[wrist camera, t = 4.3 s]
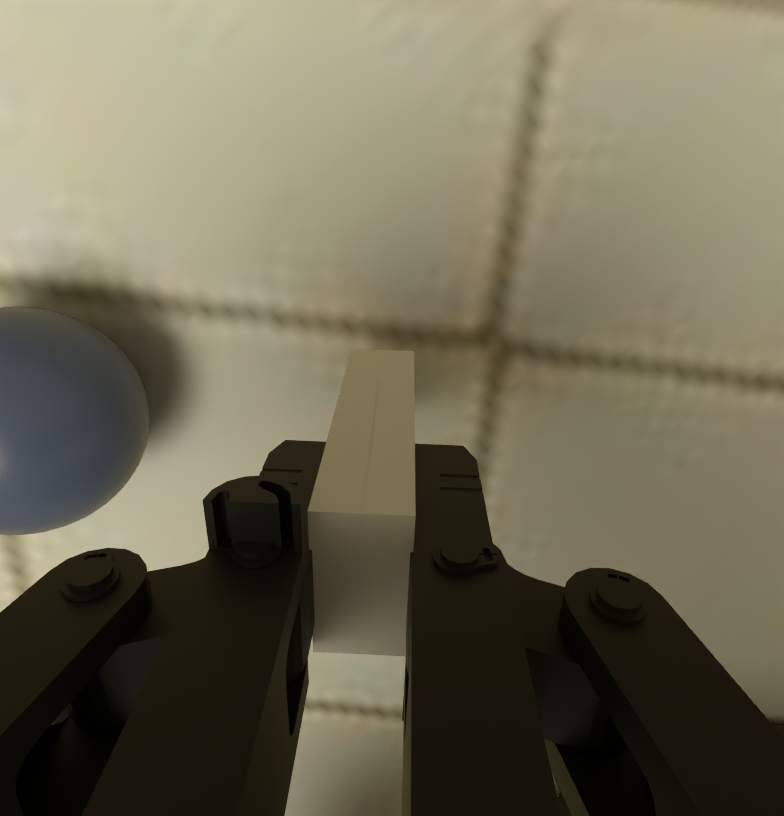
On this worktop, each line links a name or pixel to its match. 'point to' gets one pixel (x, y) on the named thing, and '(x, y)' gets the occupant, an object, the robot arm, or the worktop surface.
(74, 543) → the worktop surface
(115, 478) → the blue ball
